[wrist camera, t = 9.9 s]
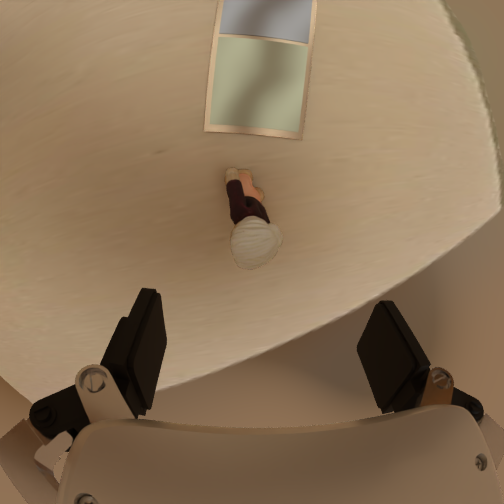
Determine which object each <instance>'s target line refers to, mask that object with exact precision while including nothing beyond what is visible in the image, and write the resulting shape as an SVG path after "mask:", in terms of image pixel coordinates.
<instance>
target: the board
mask: <svg viewBox="0 0 504 504" xmlns="http://www.w3.org/2000/svg"><path fill="white" fill-rule="evenodd" d="M316 7H317V0H219V1H218V7H217V14H216V21H215V28H214V35H213V43H212V51H211V59H210V68H209V77H208V87H207V98H206V109H205V122H204V131H211V132H229V133H243V134H255V135H265V136H274V137H283V138H291V139H298V140H302V138H303V130H304V123H305V115H306V107H307V98H308V90H309V81H310V72H311V63H312V53H313V42H314V31H315V20H316Z"/></svg>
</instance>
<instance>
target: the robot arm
mask: <svg viewBox="0 0 504 504" xmlns="http://www.w3.org/2000/svg"><path fill="white" fill-rule="evenodd" d="M166 345H167V337H166V330H165V324H164V317H163V309H162V301H161V294H160V293H157V292H156V289H149V288H142V289H141V291H140V293H139V295H138V297H137V299H136V301H135V303H134V305H133V307H132V309H131V312H130V314H129V316H128V317H122V318H121V319H120V321H119V323H118V325H117V327H116V329H115V332H114V334H113V336H112V338H111V340H110V343H109V345H108V347H107V349H106V352H105V354H104V356H103V358H102V361H101V363H100V365H97V364H92V365H87V366H85V367H83V368H82V369H81V370H80V371H79V372H78V373H77V375H76V378H75V384H74V385H72V386H70V387H68V388H66V389H63V390H61V391H59V392H57V393H54V394H52V395H50V396H47V397H45V398H43V399H40V400H38V401H37V402H35V403H34V404H33V406H32V407H31V409H30V414H29V418H28V419H27V420H25V419H22V420H21V421H20V422H19V423H18V424H17V425H15V426H14V427H13V428H12V429H11V430H10V431H9V432H7V433H6V434H5V435H4V436H3V437H2V438H1V439H0V465H1V466H2V468H3V470H4V471H5V473H6V474H7V475H8V477H9V479H10V480H11V482H12V483H13V485H14V486H15V487H16V489H17V490H18V491H19V493H20V494H21V495H22V497H23V498H24V499H25V501H26V502H27V503H28V504H504V501H503V496H502V491H501V487H500V483H499V479H498V475H497V472H496V470H497V468H498V466H499V464H500V462H501V460H502V457H503V455H504V429H503V428H501V427H500V426H499V425H498V424H497V423H496V422H495V421H494V420H493V419H492V418H491V417H490V416H489V415H487V414H485V415H483V413H484V410H483V406H482V404H481V403H480V402H479V400H477V399H476V398H474V397H472V396H470V395H468V394H466V393H464V392H462V391H460V390H459V389H457V388H455V387H454V380H453V377H452V376H451V374H450V373H449V372H448V371H447V370H445V369H444V368H441V367H435V368H432V369H431V370H430V368H429V366H430V365H431V364H430V362H429V360H428V358H427V356H426V355H425V353H424V351H423V349H422V348H421V346H420V344H419V343H418V341H417V339H416V338H415V336H414V334H413V332H412V331H411V329H410V328H409V326H408V324H407V323H406V321H405V320H404V318H403V316H402V315H401V313H400V312H399V310H398V308H397V307H396V306H395V304H394V302H393V301H380V302H379V303H378V304H376V305H375V307H374V310H373V312H372V314H371V316H370V319H369V321H368V323H367V325H366V328H365V330H364V332H363V334H362V336H361V338H360V340H359V342H358V345H357V352H358V355H359V357H360V360H361V363H362V365H363V368H364V370H365V373H366V376H367V379H368V381H369V384H370V387H371V389H372V392H373V395H374V398H375V401H376V403H377V406H378V408H381V411H382V414H385V413H389V412H392V411H393V410H394V413H392V414H387V415H382V416H377V417H372V418H366V419H360V420H355V421H347V422H340V423H332V424H324V425H312V426H299V427H278V428H236V427H216V426H202V425H191V424H181V423H172V422H163V421H155V420H146V419H138V415H144V416H145V414H146V410H147V409H148V410H150V409H151V407H152V403H153V398H154V394H155V389H156V385H157V381H158V377H159V373H160V369H161V365H162V361H163V357H164V353H165V349H166ZM64 452H69V453H68V456H67V459H66V462H65V465H64V469H63V472H62V476H61V480H60V484H59V483H58V481H57V480H56V478H55V477H54V473H53V468H54V465H55V464H56V462H57V461H59V460H60V457H59V456H60V455H61V454H63V453H64ZM92 496H93V497H92Z"/></svg>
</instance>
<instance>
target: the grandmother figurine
mask: <svg viewBox="0 0 504 504" xmlns="http://www.w3.org/2000/svg"><path fill="white" fill-rule="evenodd" d="M252 181H253V176H252V173H251V171H249V170H247V169H241V170H237V169H236V168H233V167H232V168H229V169H227V170H226V175H225V184H226V188H227V194H228V197H229V202H230V216H231V219H232V221H233V222H234V224H235V227H234V228H233V230H232V232H231V239H230V245H231V252H232V255H233V257H234V260H235V262H236V264H237V266H239V267H240V268H242V269H256V268H259V267H261V266H263V265H265V264H267V263H268V262H269V261H270V260H271V259H272V258H273V257H274V256H275V255H276V253H277V252H278V248H279V247H280V246H281V244H282V240H283V235H282V233H281V231H280V228H279V227H278V226H277V225H276V224H273V223H270V221H269V218H268V216H267V213H266V210H265V208H264V207H263V205H262V203H261V201H262V200H263V199H264V193H263V191H262V190H261V189H260V188H258V187H255V188H254V187H253V186H252Z"/></svg>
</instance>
